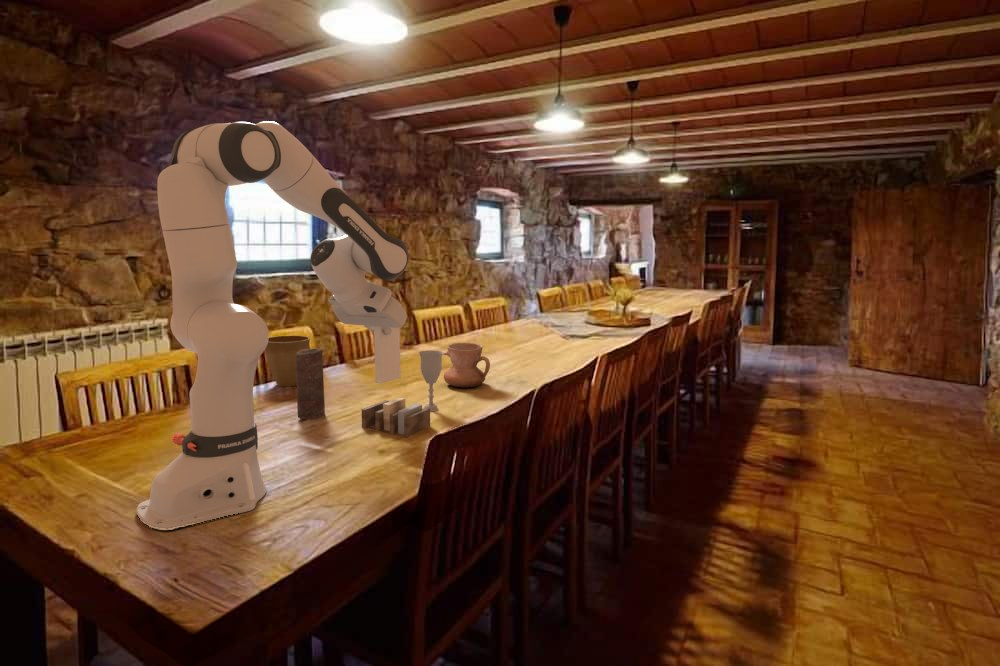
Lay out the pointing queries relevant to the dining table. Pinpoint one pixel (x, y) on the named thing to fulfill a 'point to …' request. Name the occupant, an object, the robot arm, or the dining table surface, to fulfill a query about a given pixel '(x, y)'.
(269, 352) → the plant pot
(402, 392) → the dining table surface
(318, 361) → the dark stone block
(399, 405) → the offcut
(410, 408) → the offcut
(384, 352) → the tall board
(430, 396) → the chalice
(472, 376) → the ceramic jug
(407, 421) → the rack
